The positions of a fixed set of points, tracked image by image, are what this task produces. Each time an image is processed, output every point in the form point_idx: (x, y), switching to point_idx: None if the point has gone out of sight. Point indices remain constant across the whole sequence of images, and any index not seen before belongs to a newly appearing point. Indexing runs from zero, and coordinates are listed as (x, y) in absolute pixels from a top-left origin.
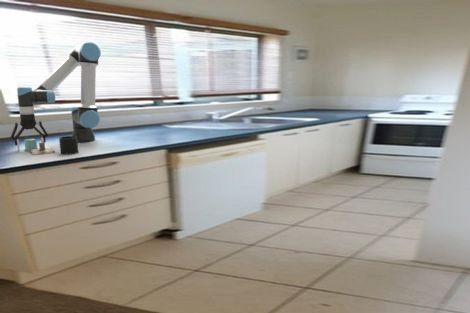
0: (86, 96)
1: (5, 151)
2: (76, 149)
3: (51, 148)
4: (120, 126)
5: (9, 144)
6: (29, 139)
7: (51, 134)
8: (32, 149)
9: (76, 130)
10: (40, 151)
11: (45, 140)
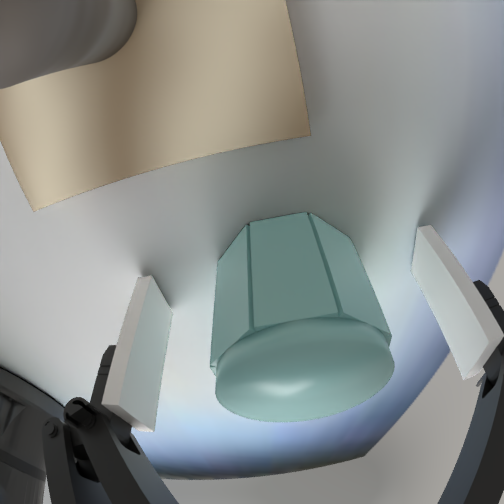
0: None
1: (495, 258)
2: None
3: (6, 143)
4: None
5: (384, 417)
6: (314, 403)
7: (208, 476)
8: (273, 138)
9: (6, 443)
10: None
11: (99, 370)
